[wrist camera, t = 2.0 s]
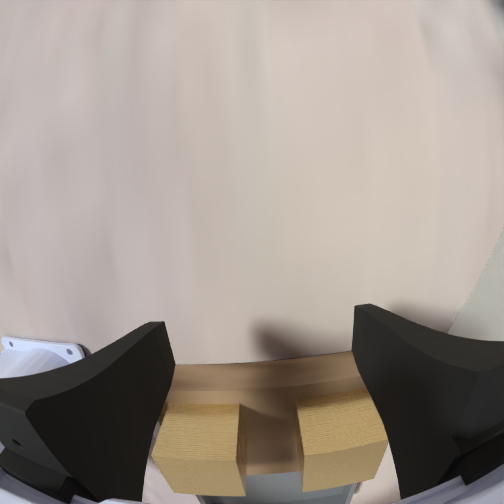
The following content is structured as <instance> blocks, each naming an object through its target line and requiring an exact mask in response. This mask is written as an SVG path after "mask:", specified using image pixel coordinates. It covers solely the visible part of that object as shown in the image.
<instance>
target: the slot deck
mask: <svg viewBox="0 0 504 504" xmlns="http://www.w3.org/2000/svg"><path fill="white" fill-rule="evenodd" d="M363 388H366V386H365V384H364V382H363V380H362V378H361V376H360V374H359V372H358V369H357V366H356V363H355V360H354V357H353V353H352V351H347V352H341V353H334V354H327V355H320V356H312V357H304V358H295V359H286V360H275V361H264V362H250V363H233V364H208V365H175V370H174V375H173V380H172V384H171V387H170V390H169V393H168V395H167V398H166V400H165V403H164V406H163V408H162V411H161V413H160V416H159V419H158V421H157V424H156V426H155V429H154V433H153V437H154V439H155V441H156V439H157V436H158V433H159V431H160V428H161V425H162V422H163V419H164V416H165V413H166V410H167V408H168V405H169V403H176V404H236V403H240V409H241V414H242V419H243V425H244V430H245V435H246V440H247V475H260V474H276V473H288V472H297V471H300V470H299V462H298V454H297V447H296V399H300V398H308V397H316V396H323V395H329V394H336V393H342V392H347V391H353V390H358V389H363ZM372 401H373V400H372ZM373 403H374V402H373ZM374 405H375V404H374ZM375 407H376V406H375ZM376 409H377V408H376ZM377 411H378V410H377ZM378 414H379V412H378ZM379 416H380V415H379ZM380 418H381V417H380ZM381 420H382V419H381Z"/></svg>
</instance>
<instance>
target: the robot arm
mask: <svg viewBox="0 0 504 504" xmlns="http://www.w3.org/2000/svg"><path fill="white" fill-rule="evenodd" d="M2 343H3V346H4V348H5V349H4V350H3V351H2V352H0V504H148V503H143V502H142V493H143V485H144V476H145V470H146V464H147V459H148V454H149V449H150V444H151V440H152V436H153V433H154V429H155V426H156V424H157V421H158V419H159V416H160V413H161V411H162V408H163V406H164V403H165V400H166V398H167V395H168V393H169V390H170V387H171V384H172V380H173V375H174V370H175V365H176V364H175V361H174V357H173V353H172V349H171V346H170V342H169V338H168V334H167V330H166V326H165V322H164V321H162V322H148V323H146V324H144V325H142V326H140V327H138V328H137V329H135V330H133V331H132V332H130V333H128V334H127V335H125V336H123V337H122V338H120V339H118V340H117V341H115V342H113V343H112V344H110V345H108V346H106V347H104V348H103V349H101V350H99V351H97V352H95V353H93V354H91V355H89V356H87V357H85V355H84V353H83V350H82V348H81V347H80V346H79V345H77V344H71V343H59V342H49V341H39V340H31V339H23V338H15V337H8V336H4V337H2ZM70 350H71V351H72V352H71V351H70ZM352 353H353V357H354V360H355V363H356V366H357V369H358V372H359V374H360V376H361V378H362V380H363V382H364V384H365V386H366V388H367V390H368V392H369V394H370V396H371V398H372V400H373V402H374V404H375V406H376V408H377V410H378V412H379V415H380V417H381V419H382V422H383V425H384V428H385V431H386V434H387V438H388V441H389V445H390V448H391V452H392V456H393V460H394V464H395V469H396V473H397V478H398V483H399V490H400V496H401V500H399V501H396V502H393V503H390V504H504V341H487V340H477V339H471V338H465V337H459V336H454V335H450V334H447V333H443V332H439V331H436V330H433V329H430V328H427V327H425V326H422V325H419V324H417V323H414V322H412V321H409V320H407V319H405V318H402V317H400V316H398V315H396V314H394V313H391V312H389V311H387V310H385V309H383V308H380V307H378V306H375V305H372V304H364V305H357V306H355V307H354V326H353V341H352Z"/></svg>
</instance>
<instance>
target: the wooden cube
mask: <svg viewBox="0 0 504 504" xmlns="http://www.w3.org/2000/svg"><path fill="white" fill-rule="evenodd" d="M151 456H152V458H153V460H154V462H155V463H156V465H157V467H158V468H159V470H160V471H161V473H162V475H163V476H164V478H165V479H166V481H167V482H168V484H169V485H170V487H171V488H172V490H173V491H174V493H183V494H194V495H209V496H246V475H247V440H246V435H245V430H244V425H243V419H242V414H241V409H240V403H236V404H176V403H169V405H168V408H167V410H166V413H165V416H164V419H163V422H162V425H161V428H160V431H159V433H158V436H157V439H156V442H155V445H154V448H153V451H152V454H151Z"/></svg>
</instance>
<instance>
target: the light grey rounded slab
mask: <svg viewBox="0 0 504 504" xmlns="http://www.w3.org/2000/svg"><path fill="white" fill-rule="evenodd" d="M447 334H450V335H454V336H459V337H465V338H471V339H477V340H487V341H504V226H503V228H502V231H501V233H500V235H499V238H498V240H497V242H496V245H495V247H494V249H493V251H492V254H491V256H490V258H489V260H488V262H487V264H486V266H485V268H484V270H483V272H482V274H481V276H480V278H479V280H478V282H477V284H476V285H475V287H474V289H473V291H472V293H471V295H470V296H469V298H468V300H467V302H466V303H465V305H464V307H463V308H462V310H461V312H460V313H459V315H458V316H457V318H456V320H455V321H454V323H453V324H452V326H451V327H450V329H449V330H448V332H447Z"/></svg>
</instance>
